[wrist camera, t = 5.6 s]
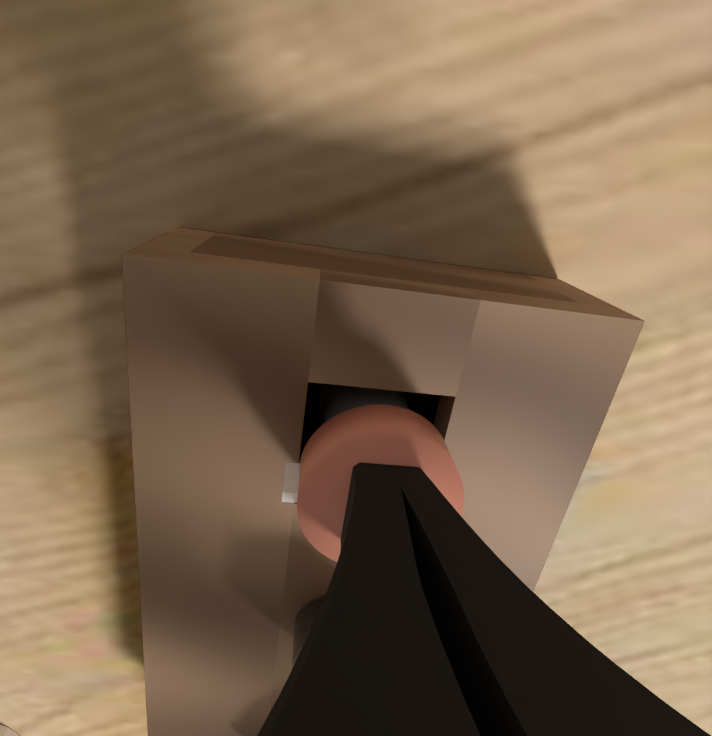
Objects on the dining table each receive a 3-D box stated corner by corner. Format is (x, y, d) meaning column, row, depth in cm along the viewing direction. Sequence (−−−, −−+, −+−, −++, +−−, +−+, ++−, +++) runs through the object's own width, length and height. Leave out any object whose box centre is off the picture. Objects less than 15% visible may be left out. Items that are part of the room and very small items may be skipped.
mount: (423, 697, 22) (445, 805, 18) (182, 693, 20) (152, 810, 17) (559, 279, 14) (644, 320, 10) (179, 227, 12) (121, 253, 9)
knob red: (404, 442, 15) (444, 572, 10) (289, 432, 14) (274, 564, 10) (425, 344, 14) (482, 442, 9) (299, 331, 13) (289, 426, 8)
